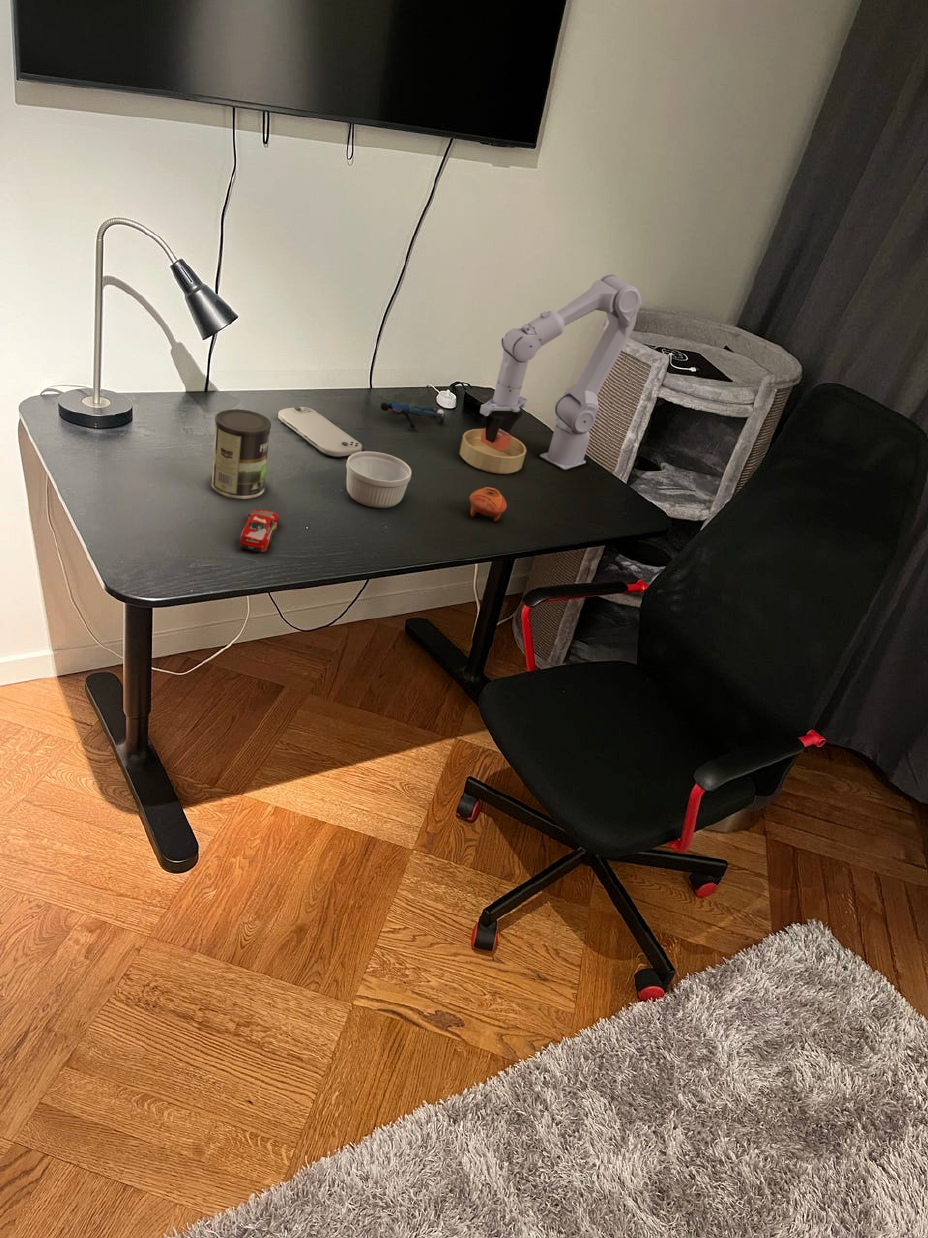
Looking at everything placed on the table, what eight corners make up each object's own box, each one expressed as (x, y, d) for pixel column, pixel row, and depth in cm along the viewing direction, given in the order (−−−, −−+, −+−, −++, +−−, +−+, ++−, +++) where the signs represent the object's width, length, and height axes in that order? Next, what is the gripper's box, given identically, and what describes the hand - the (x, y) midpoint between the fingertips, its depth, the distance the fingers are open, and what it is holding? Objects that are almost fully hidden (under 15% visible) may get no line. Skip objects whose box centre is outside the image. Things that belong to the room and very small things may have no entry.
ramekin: (415, 495, 192) (421, 465, 189) (390, 518, 182) (396, 487, 178) (358, 474, 195) (363, 444, 191) (331, 497, 184) (335, 465, 180)
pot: (463, 501, 194) (477, 475, 191) (496, 516, 196) (510, 490, 192) (462, 518, 187) (477, 490, 184) (496, 533, 189) (511, 506, 185)
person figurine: (428, 417, 234) (367, 408, 223) (433, 400, 232) (372, 391, 221) (449, 435, 226) (387, 427, 216) (455, 418, 224) (392, 410, 214)
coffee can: (267, 479, 184) (274, 414, 176) (261, 503, 176) (267, 435, 168) (215, 470, 182) (219, 404, 175) (206, 494, 174) (210, 425, 166)
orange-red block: (490, 438, 216) (494, 424, 214) (508, 448, 214) (512, 433, 212) (480, 441, 213) (483, 426, 211) (497, 451, 211) (501, 436, 209)
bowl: (487, 441, 224) (491, 424, 222) (534, 467, 217) (539, 450, 215) (445, 452, 214) (449, 434, 211) (494, 480, 207) (498, 462, 204)
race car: (252, 516, 171) (254, 497, 169) (281, 522, 171) (283, 504, 169) (234, 550, 160) (235, 530, 158) (265, 557, 160) (267, 537, 158)
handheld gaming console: (273, 406, 208) (310, 402, 214) (272, 417, 209) (308, 413, 216) (331, 449, 195) (368, 444, 202) (329, 461, 197) (366, 455, 203)
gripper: (502, 394, 198) (488, 451, 206) (542, 386, 208) (527, 441, 216) (478, 382, 202) (465, 438, 209) (518, 374, 212) (505, 428, 219)
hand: (495, 439), depth 213 cm, fingers closed on orange-red block, 4 cm apart
